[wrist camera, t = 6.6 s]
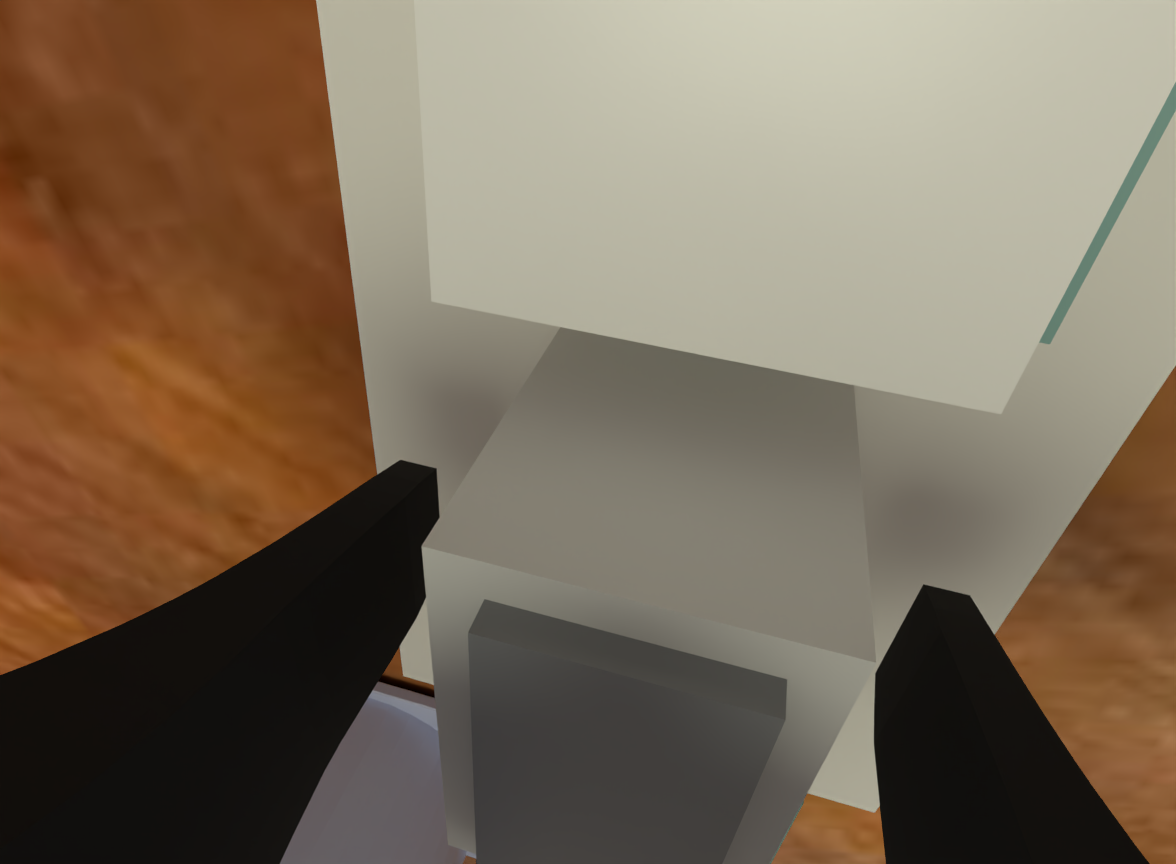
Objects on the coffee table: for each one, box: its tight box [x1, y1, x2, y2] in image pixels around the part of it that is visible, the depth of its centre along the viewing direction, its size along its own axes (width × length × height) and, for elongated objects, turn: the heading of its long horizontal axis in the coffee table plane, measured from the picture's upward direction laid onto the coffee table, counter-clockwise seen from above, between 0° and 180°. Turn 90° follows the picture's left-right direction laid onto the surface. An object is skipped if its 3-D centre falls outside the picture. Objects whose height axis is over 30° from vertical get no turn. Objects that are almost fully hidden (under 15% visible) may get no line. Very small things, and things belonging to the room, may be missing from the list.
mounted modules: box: [414, 0, 1176, 864], centre depth 11 cm, size 18×6×4 cm, turn 175°
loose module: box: [421, 327, 876, 864], centre depth 10 cm, size 6×4×6 cm, turn 175°
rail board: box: [316, 0, 1176, 813], centre depth 13 cm, size 20×13×2 cm, turn 175°
